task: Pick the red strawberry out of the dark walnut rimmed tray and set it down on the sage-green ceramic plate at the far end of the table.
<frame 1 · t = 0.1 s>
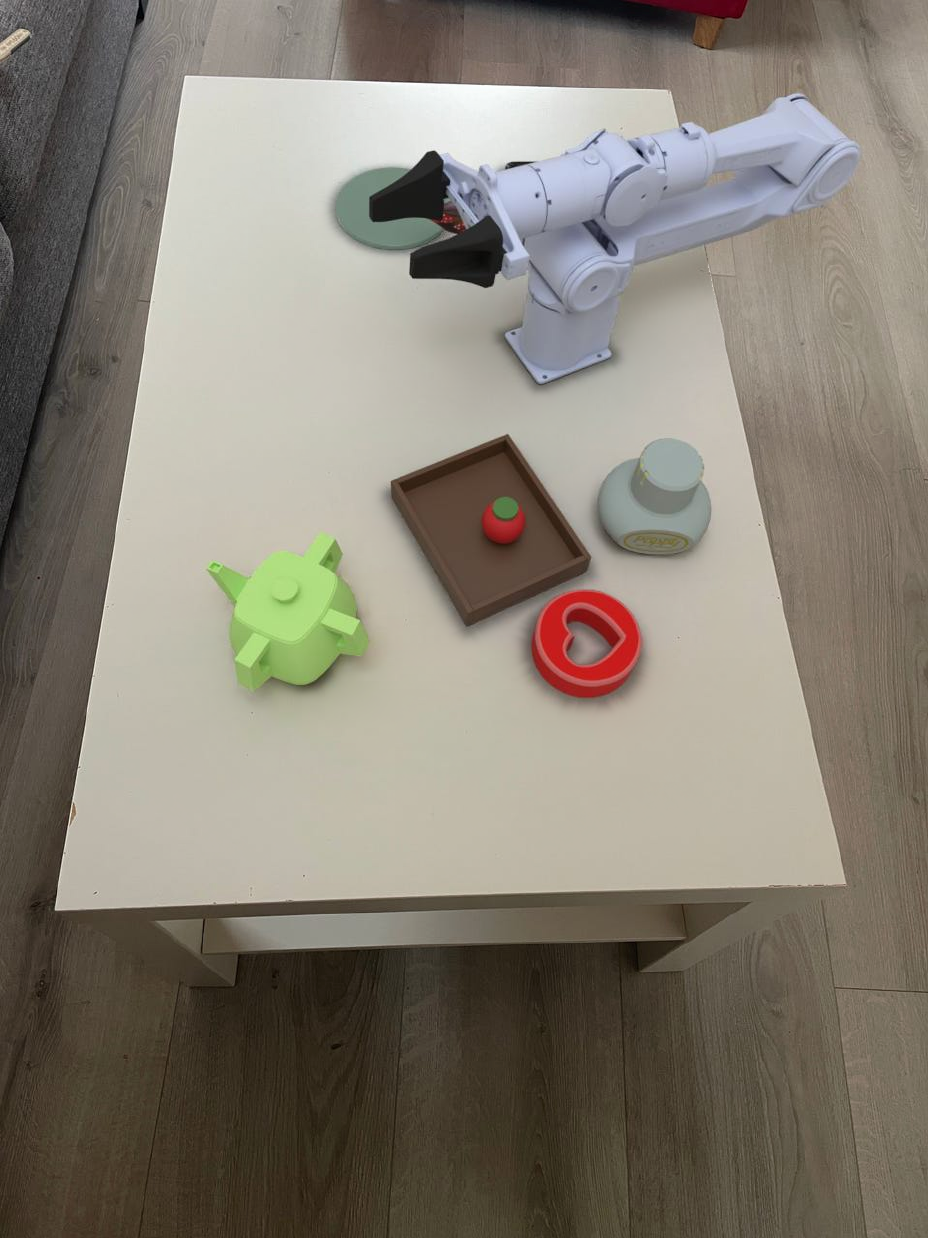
hand: (390, 237, 71), 22 cm above the table, tool horizontal, fingers open, 7 cm apart
decorative ornament: (583, 650, 79), on the table
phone: (565, 191, 107), on the table
air freshener: (646, 523, 86), on the table
strawberry: (503, 521, 81), point 3 cm above the table, touching tray
plate: (393, 209, 104), on the table
teapot: (297, 637, 78), on the table
tray: (487, 533, 84), on the table
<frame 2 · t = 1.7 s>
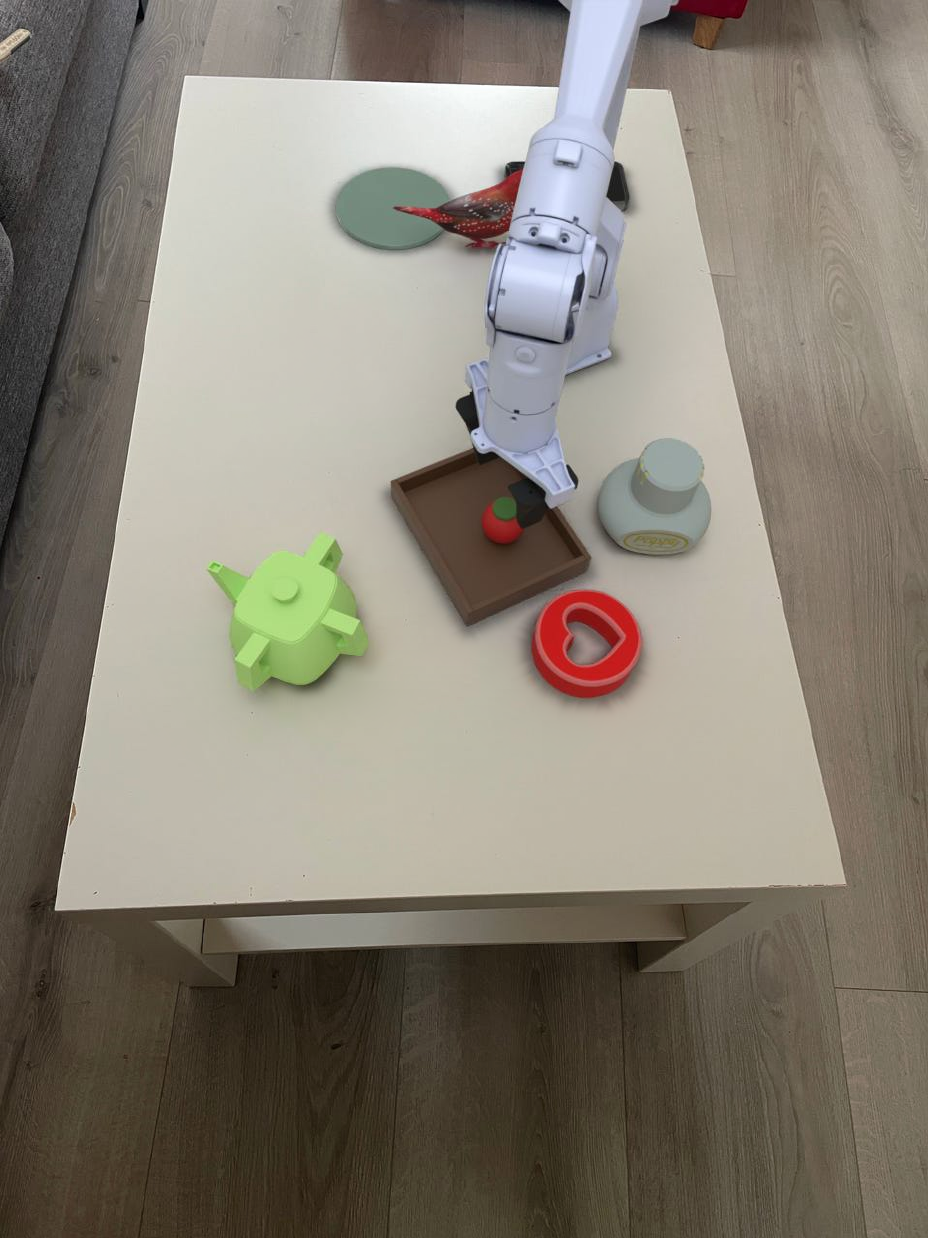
hand: (508, 489, 77), 8 cm above the table, tool pointing down, fingers open, 7 cm apart
nothing on the table moved.
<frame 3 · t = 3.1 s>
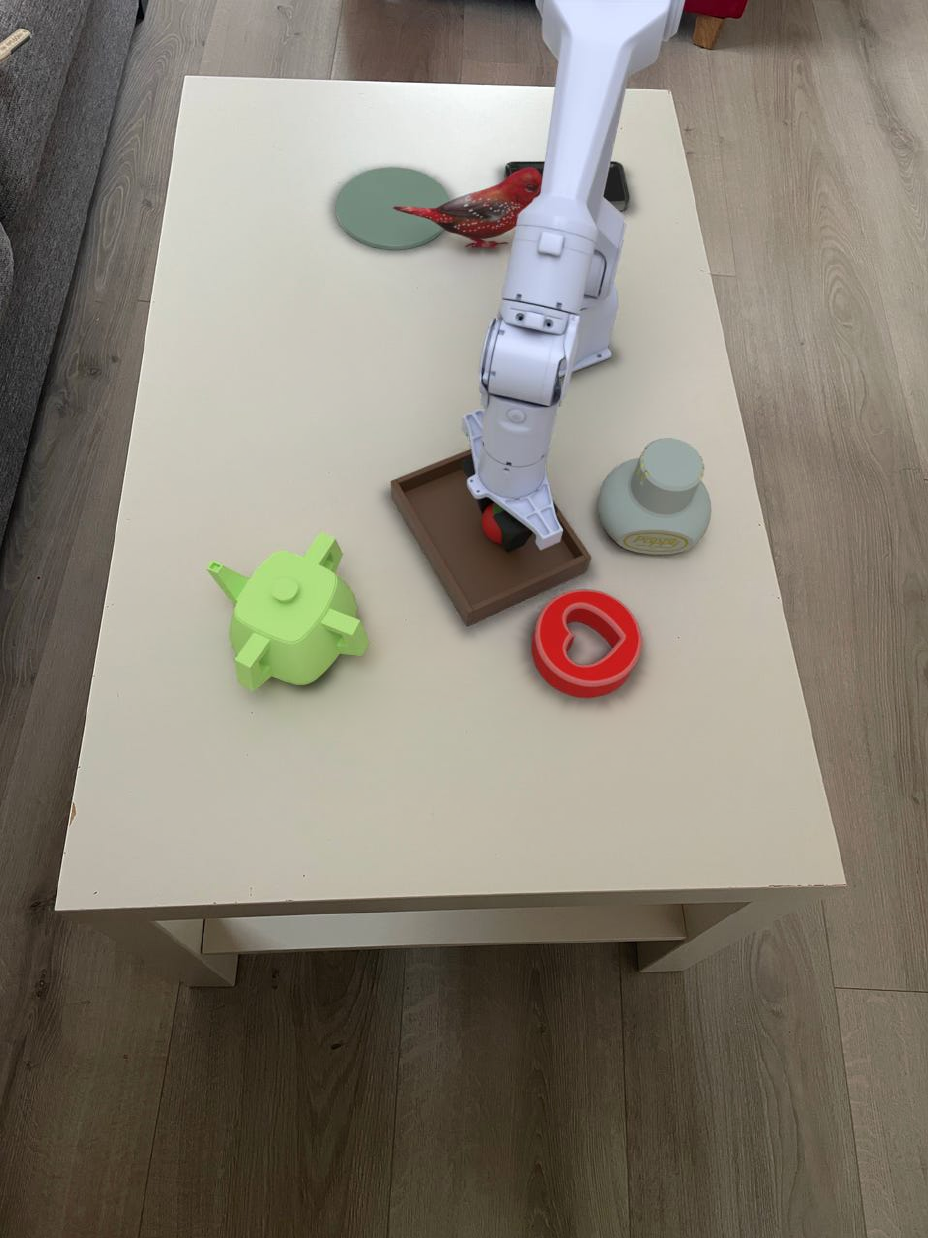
hand: (502, 527, 82), 2 cm above the table, tool pointing down, fingers closed on strawberry, 4 cm apart
strawberry: (503, 521, 81), point 3 cm above the table, touching gripper, tray
everything else where it was.
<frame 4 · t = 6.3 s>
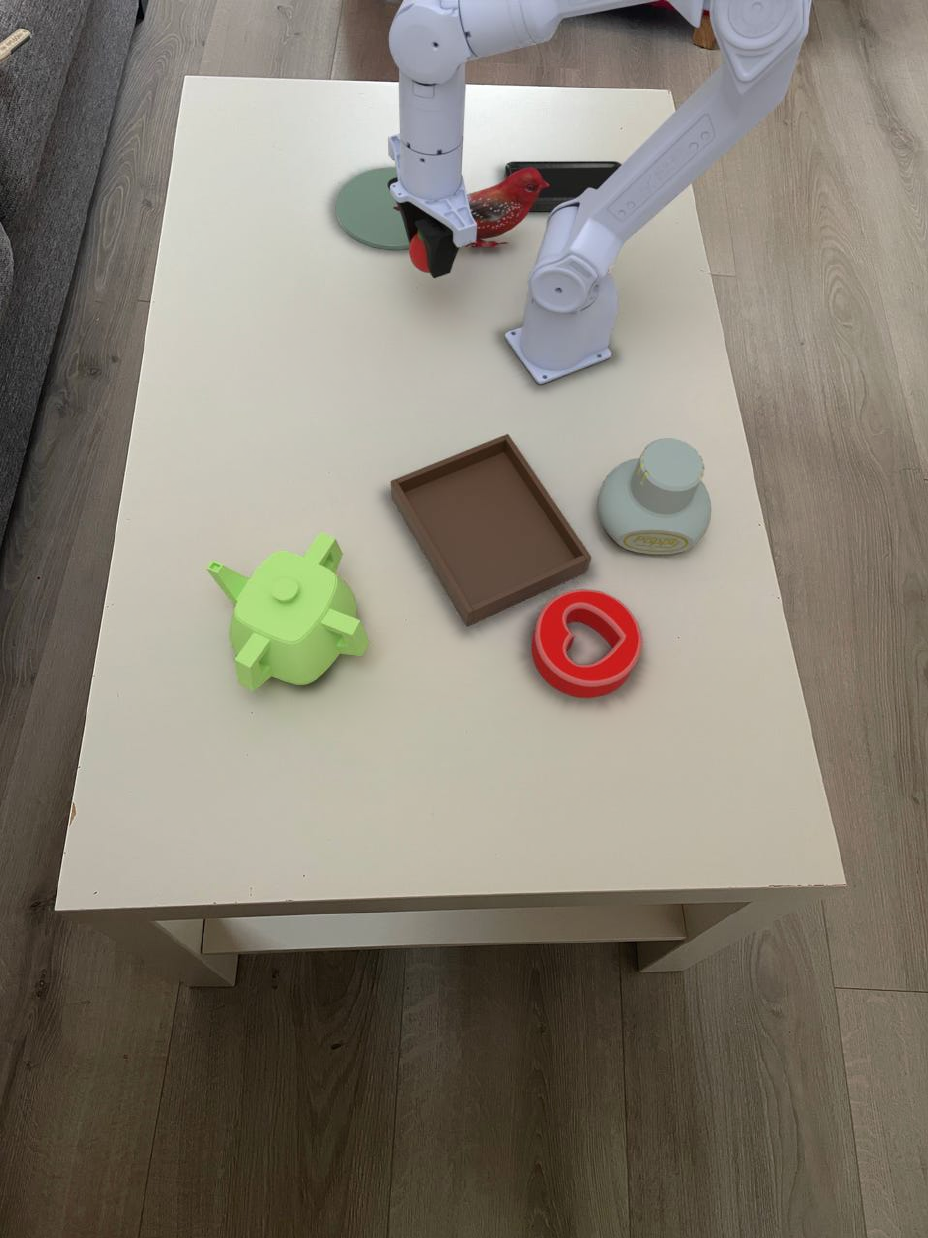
hand: (430, 259, 89), 9 cm above the table, tool pointing down, fingers closed on strawberry, 4 cm apart
strawberry: (429, 250, 88), point 10 cm above the table, touching gripper
everything else where it was.
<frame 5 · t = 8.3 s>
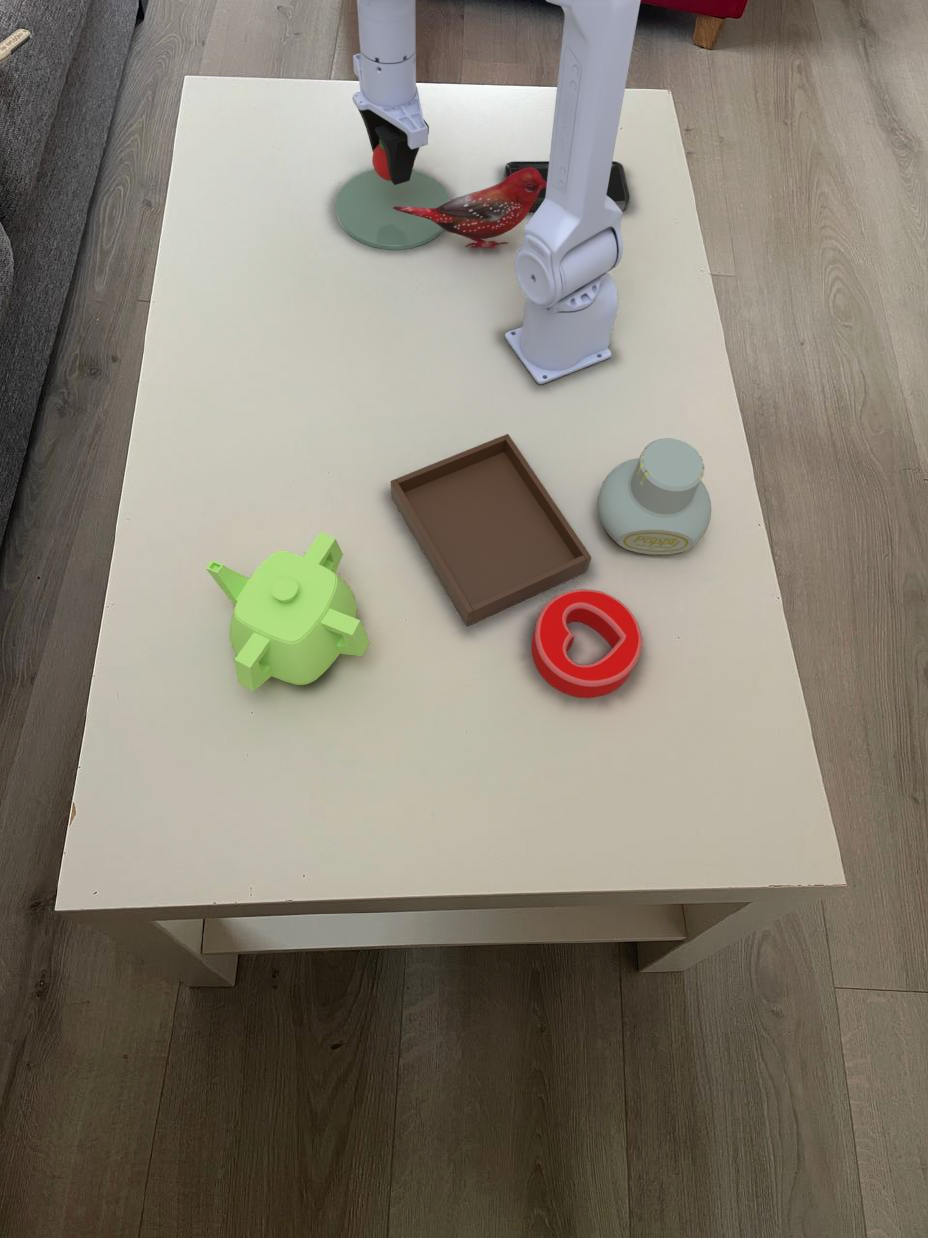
hand: (392, 168, 99), 5 cm above the table, tool pointing down, fingers closed on strawberry, 4 cm apart
strawberry: (390, 160, 98), point 7 cm above the table, touching gripper
everything else where it was.
when the fingers open (1 cm above the table, at t = 9.8 s): strawberry stays where it is, resting on plate.
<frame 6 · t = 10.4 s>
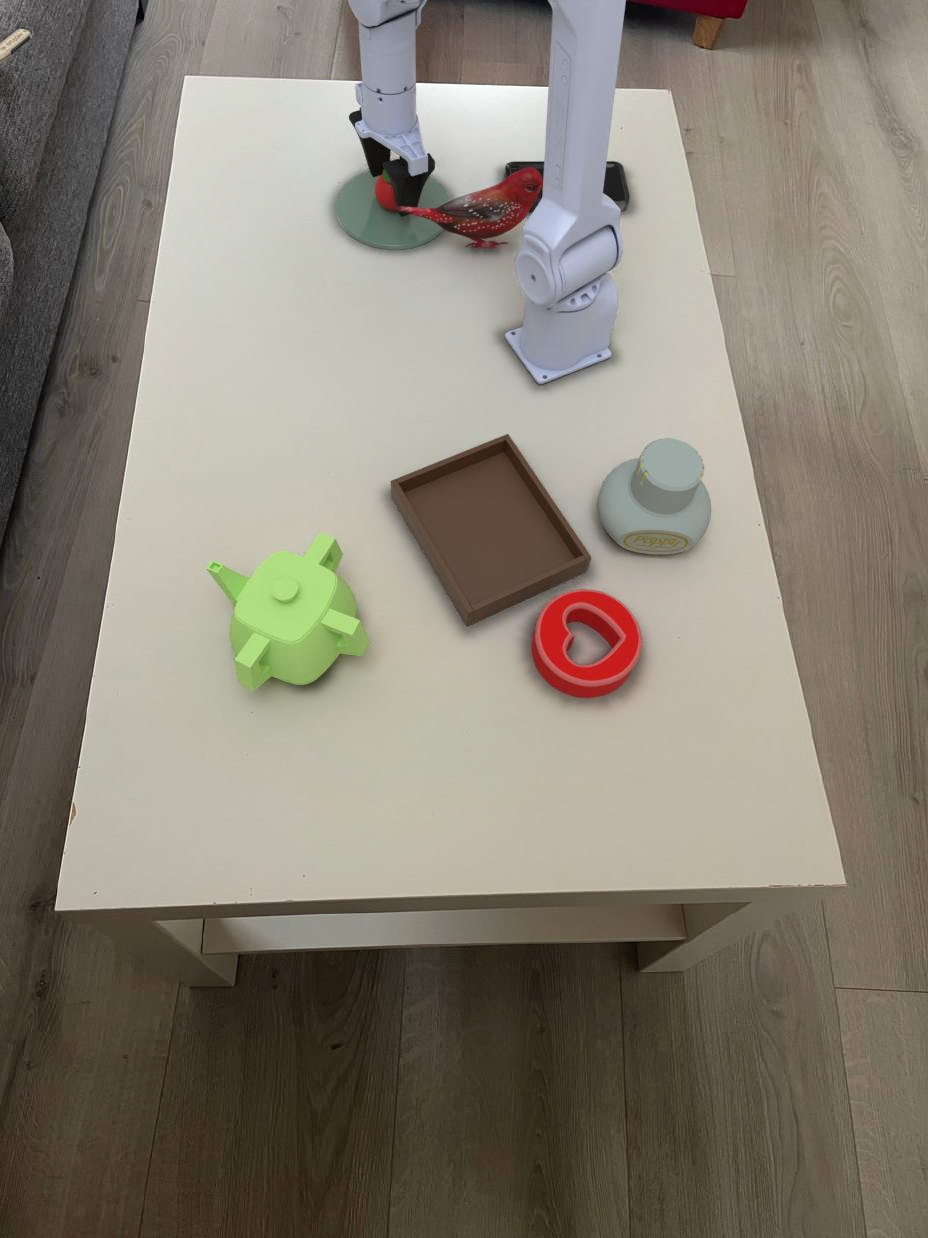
hand: (393, 192, 102), 2 cm above the table, tool pointing down, fingers open, 7 cm apart
strawberry: (392, 190, 102), point 3 cm above the table, touching plate
everything else where it was.
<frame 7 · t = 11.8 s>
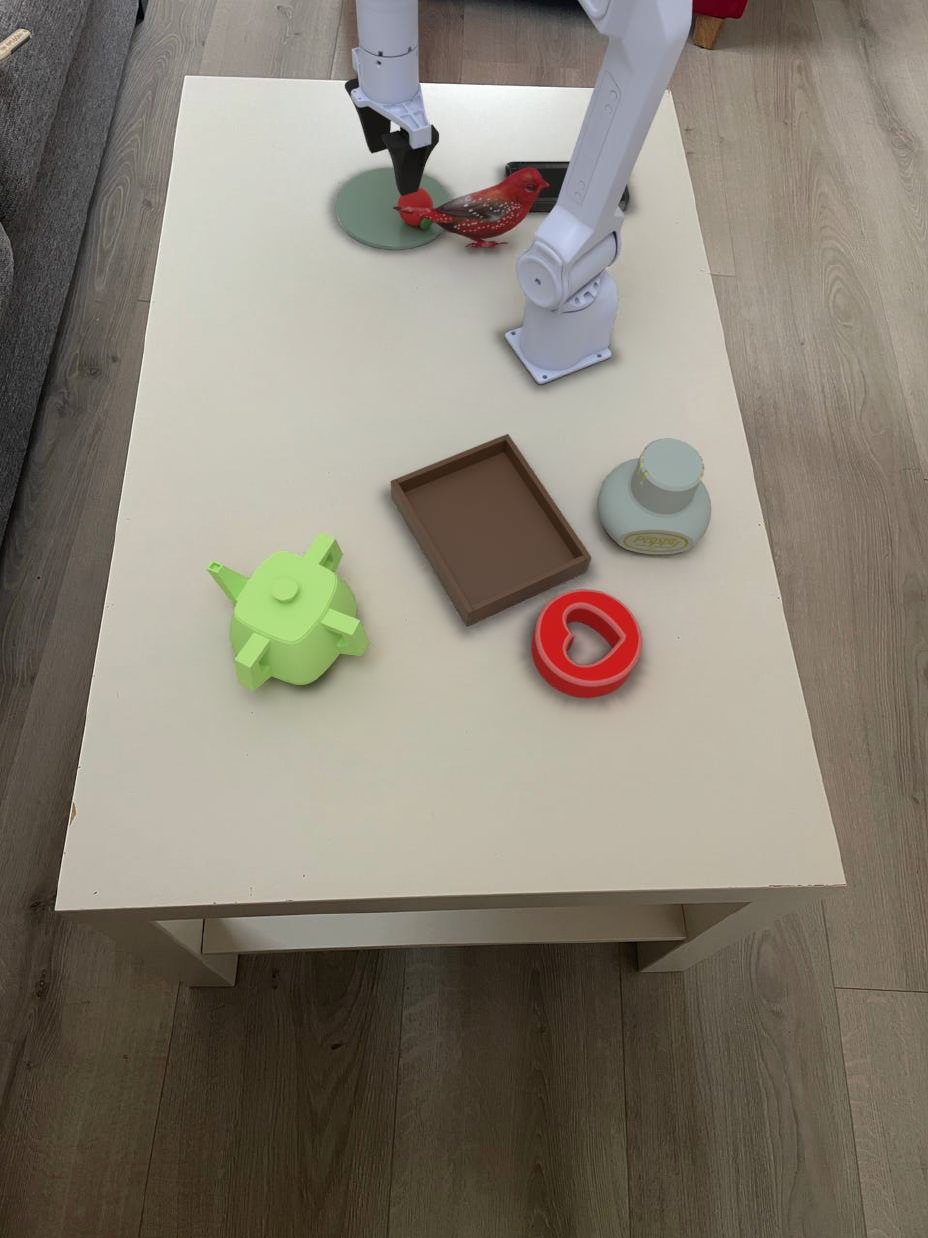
hand: (393, 170, 93), 9 cm above the table, tool pointing down, fingers open, 7 cm apart
strawberry: (415, 206, 101), point 3 cm above the table, tilted 108°, touching plate
everything else where it was.
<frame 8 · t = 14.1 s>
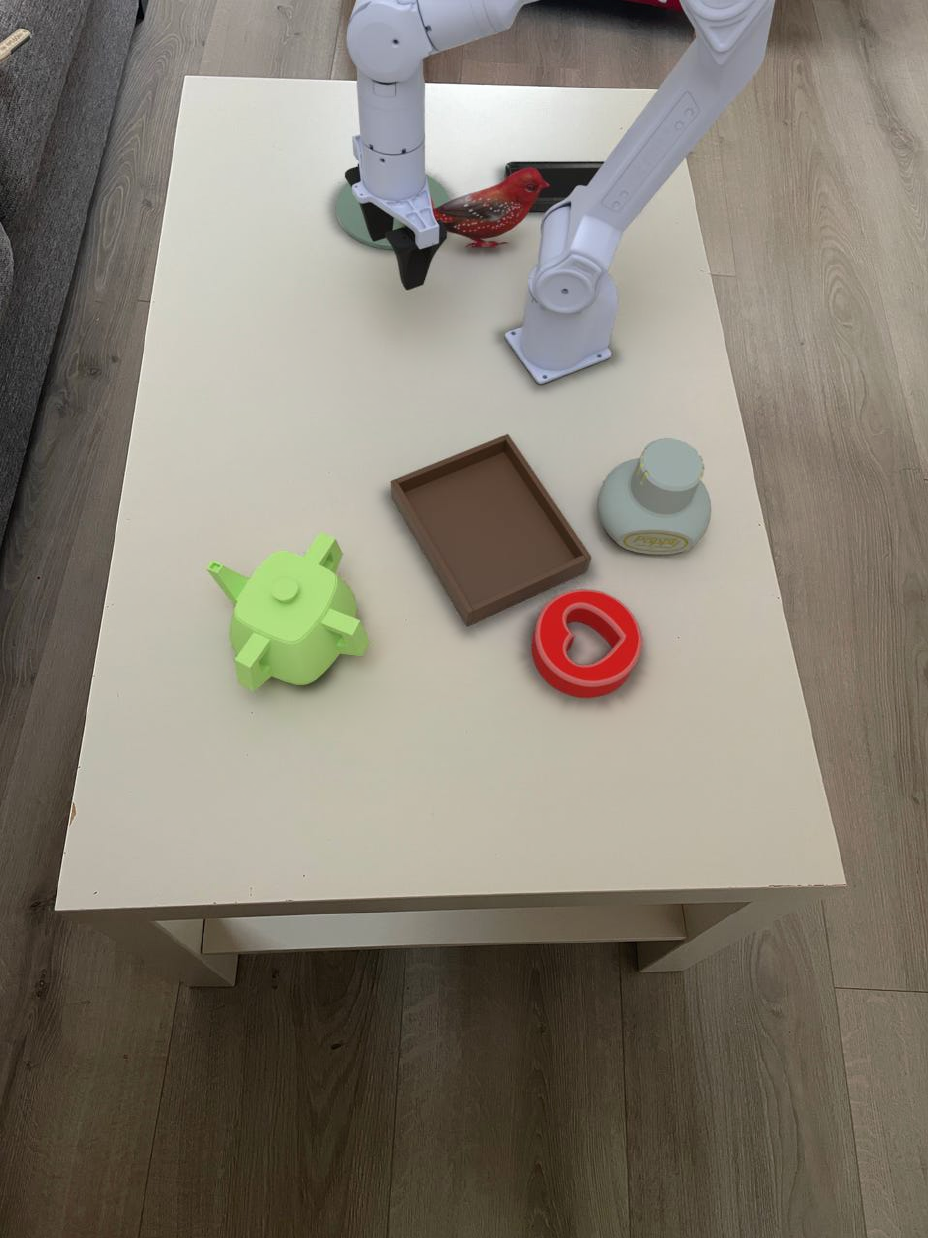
hand: (397, 260, 87), 9 cm above the table, tool pointing down, fingers open, 7 cm apart
strawberry: (416, 207, 101), point 3 cm above the table, tilted 114°, touching plate
everything else where it was.
at the end: strawberry inside the target area on the plate (4.1 cm from its centre), point 2.7 cm above the plate's base; strawberry touching plate; the gripper is holding nothing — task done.
